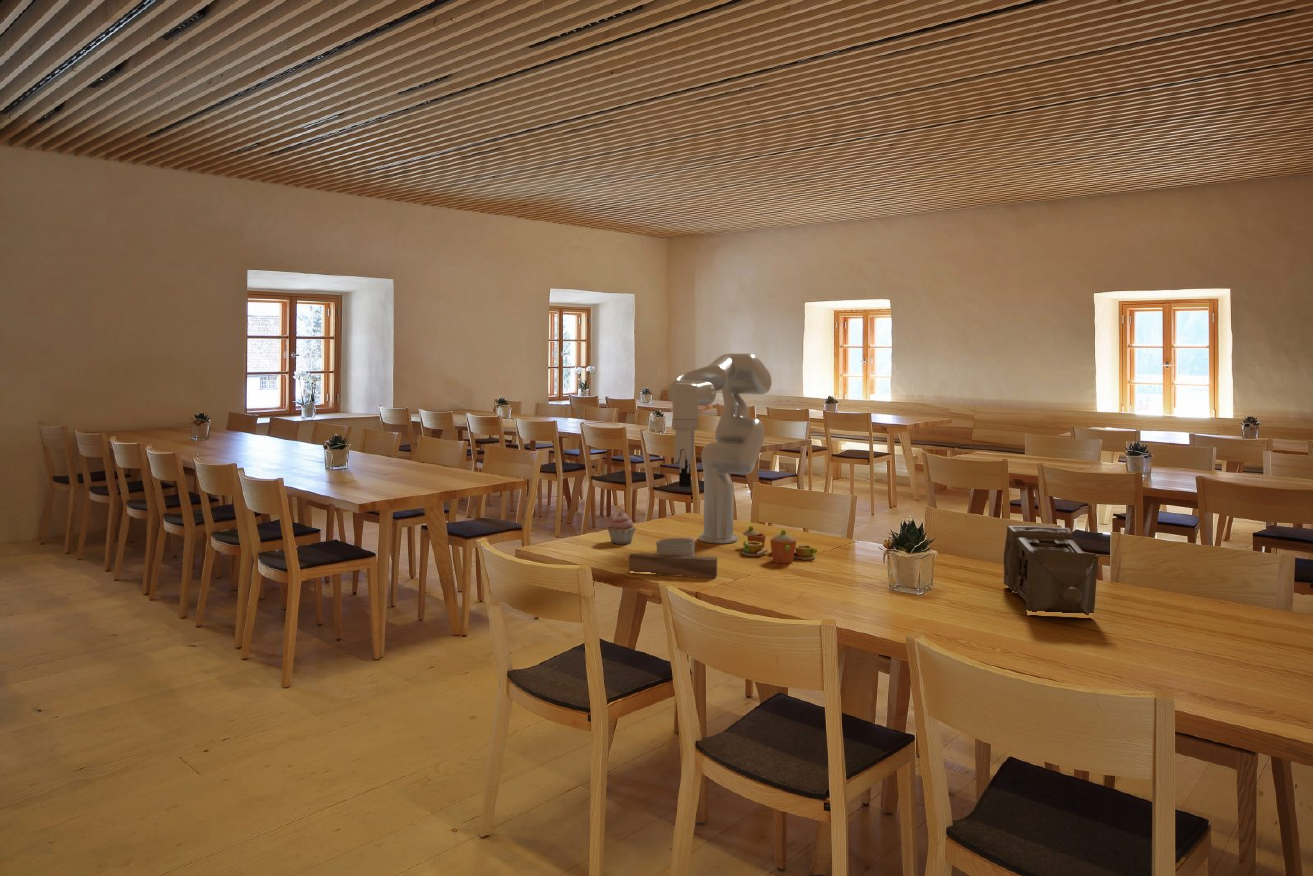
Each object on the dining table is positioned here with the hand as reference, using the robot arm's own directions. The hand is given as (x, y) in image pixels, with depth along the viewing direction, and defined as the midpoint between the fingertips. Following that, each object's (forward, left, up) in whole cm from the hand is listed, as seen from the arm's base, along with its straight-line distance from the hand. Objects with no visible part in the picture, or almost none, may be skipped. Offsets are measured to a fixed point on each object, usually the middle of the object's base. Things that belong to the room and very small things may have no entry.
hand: (684, 486), depth 269 cm
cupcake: (-15, -22, -21) cm, 34 cm away
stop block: (+22, 0, -21) cm, 30 cm away
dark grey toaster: (+37, +95, -22) cm, 104 cm away
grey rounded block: (+14, 0, -21) cm, 25 cm away
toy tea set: (-7, +26, -22) cm, 34 cm away
